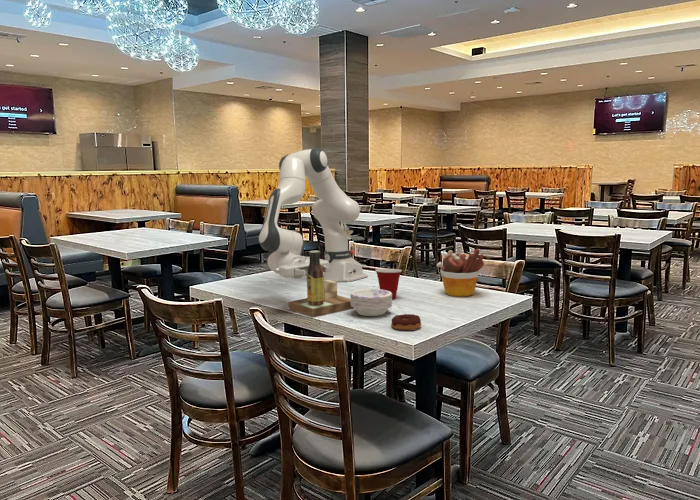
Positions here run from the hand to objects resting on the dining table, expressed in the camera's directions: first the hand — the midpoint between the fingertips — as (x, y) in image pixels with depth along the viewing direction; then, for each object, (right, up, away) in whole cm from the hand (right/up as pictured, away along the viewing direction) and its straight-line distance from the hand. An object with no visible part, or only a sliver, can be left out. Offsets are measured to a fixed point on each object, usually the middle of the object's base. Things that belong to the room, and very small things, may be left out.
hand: (316, 271), depth 196 cm
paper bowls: (+20, -16, 0) cm, 25 cm away
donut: (+31, -18, -18) cm, 40 cm away
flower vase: (+6, -3, +92) cm, 93 cm away
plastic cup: (+28, -12, +23) cm, 38 cm away
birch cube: (+3, -11, +14) cm, 18 cm away
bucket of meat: (+58, -11, +27) cm, 65 cm away
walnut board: (+2, -15, +8) cm, 17 cm away
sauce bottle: (0, -12, +3) cm, 13 cm away
